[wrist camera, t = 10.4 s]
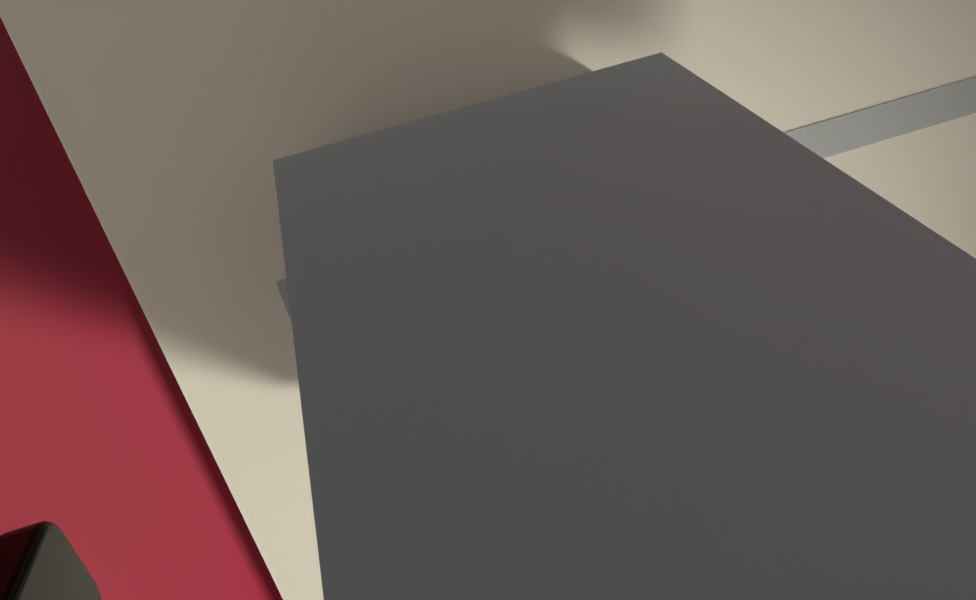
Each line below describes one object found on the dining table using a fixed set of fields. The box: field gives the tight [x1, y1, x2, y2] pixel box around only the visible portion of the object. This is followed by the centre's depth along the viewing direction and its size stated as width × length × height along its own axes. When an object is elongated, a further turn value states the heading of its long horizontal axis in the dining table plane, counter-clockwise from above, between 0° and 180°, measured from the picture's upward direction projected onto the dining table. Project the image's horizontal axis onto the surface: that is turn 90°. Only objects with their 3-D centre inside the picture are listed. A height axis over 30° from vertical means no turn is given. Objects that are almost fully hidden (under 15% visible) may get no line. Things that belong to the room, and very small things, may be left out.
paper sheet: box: [0, 0, 976, 600], centre depth 12 cm, size 16×11×1 cm
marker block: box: [273, 52, 976, 600], centre depth 7 cm, size 4×4×9 cm
